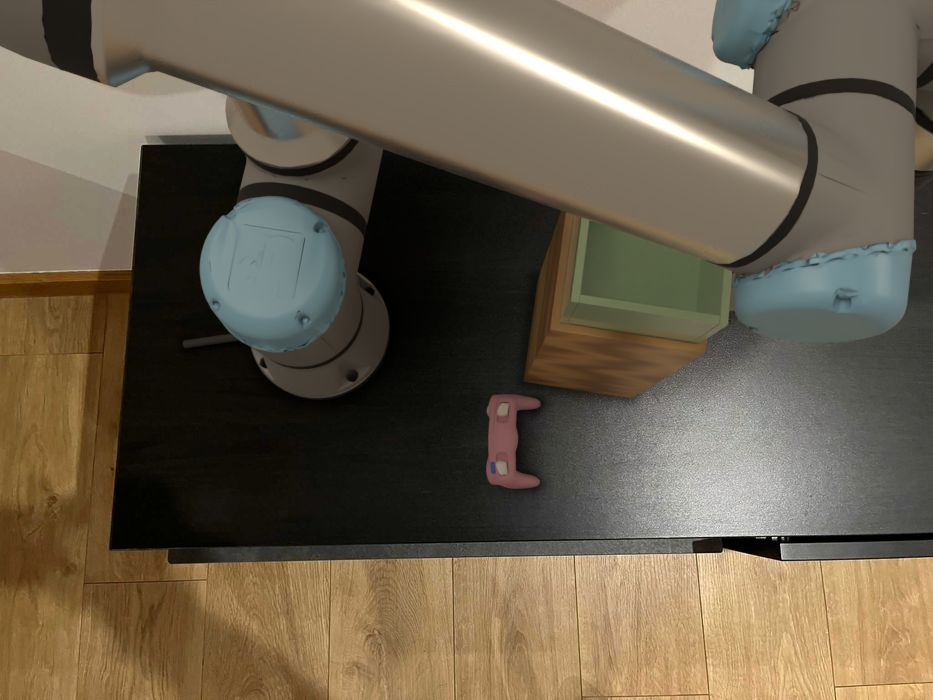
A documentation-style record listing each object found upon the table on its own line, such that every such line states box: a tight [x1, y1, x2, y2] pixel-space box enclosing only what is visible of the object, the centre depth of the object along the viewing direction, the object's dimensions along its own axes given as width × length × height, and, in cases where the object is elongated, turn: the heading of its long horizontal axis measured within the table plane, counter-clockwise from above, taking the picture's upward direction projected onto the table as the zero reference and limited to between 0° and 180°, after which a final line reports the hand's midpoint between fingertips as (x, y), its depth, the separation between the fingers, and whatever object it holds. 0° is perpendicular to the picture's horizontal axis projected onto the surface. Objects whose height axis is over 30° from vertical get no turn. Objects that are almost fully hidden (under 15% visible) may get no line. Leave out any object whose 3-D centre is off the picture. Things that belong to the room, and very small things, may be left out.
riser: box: [523, 210, 708, 399], centre depth 66 cm, size 12×12×24 cm
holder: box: [559, 215, 732, 344], centre depth 51 cm, size 11×11×6 cm
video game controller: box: [485, 393, 542, 490], centre depth 73 cm, size 10×5×7 cm, turn 178°
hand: (774, 241), depth 67 cm, fingers open, 13 cm apart
